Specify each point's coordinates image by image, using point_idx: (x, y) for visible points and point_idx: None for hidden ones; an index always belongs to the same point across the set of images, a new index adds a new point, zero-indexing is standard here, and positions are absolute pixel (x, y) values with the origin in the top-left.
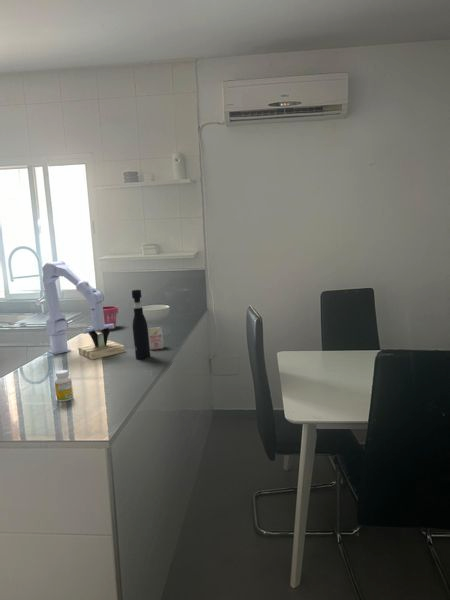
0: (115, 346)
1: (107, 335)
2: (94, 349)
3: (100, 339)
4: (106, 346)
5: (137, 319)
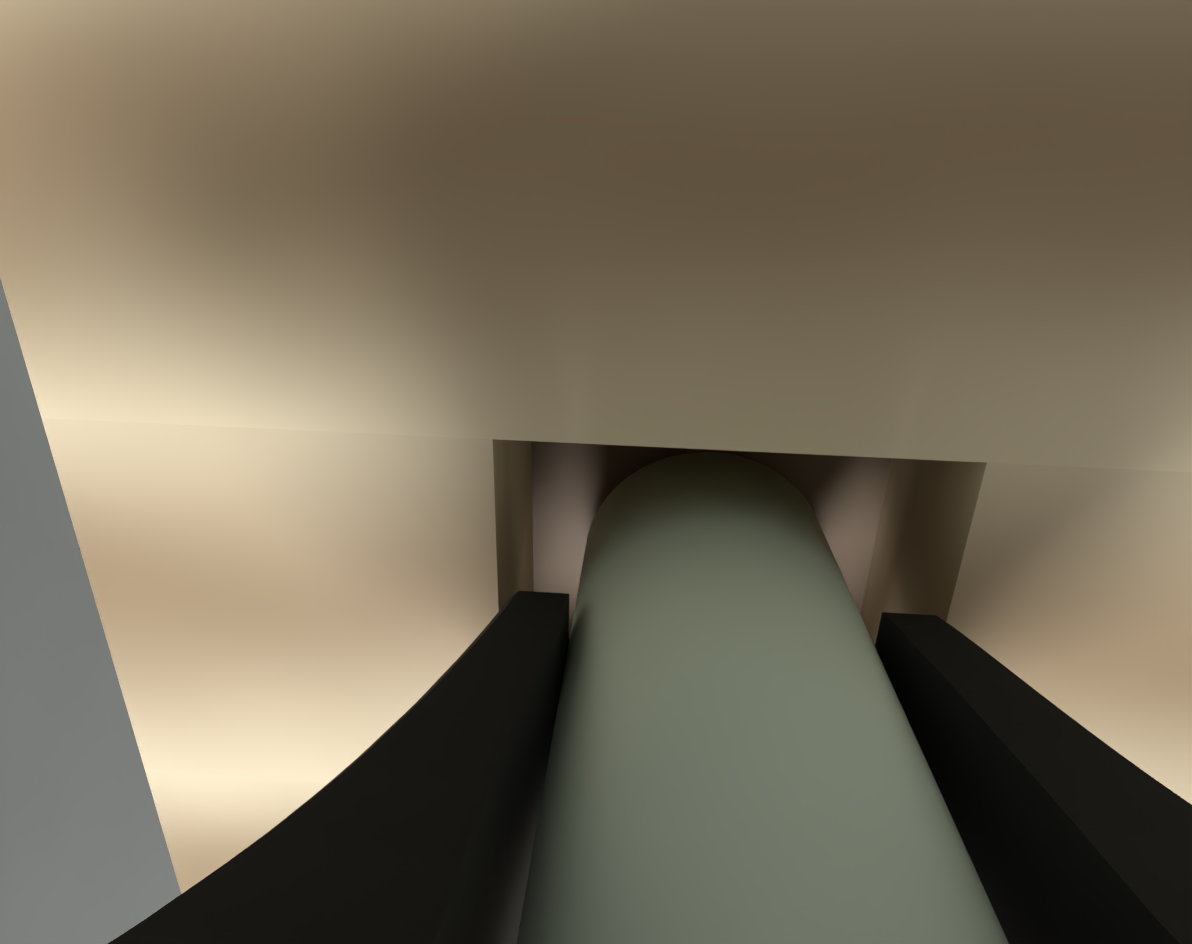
0: (283, 81)
1: (253, 893)
2: (1157, 440)
3: (852, 783)
4: None
5: None
